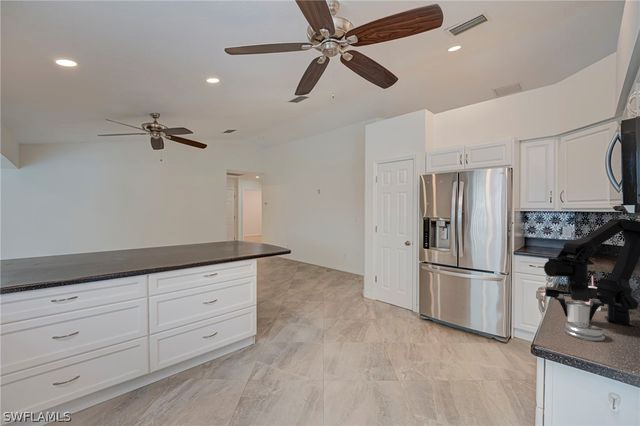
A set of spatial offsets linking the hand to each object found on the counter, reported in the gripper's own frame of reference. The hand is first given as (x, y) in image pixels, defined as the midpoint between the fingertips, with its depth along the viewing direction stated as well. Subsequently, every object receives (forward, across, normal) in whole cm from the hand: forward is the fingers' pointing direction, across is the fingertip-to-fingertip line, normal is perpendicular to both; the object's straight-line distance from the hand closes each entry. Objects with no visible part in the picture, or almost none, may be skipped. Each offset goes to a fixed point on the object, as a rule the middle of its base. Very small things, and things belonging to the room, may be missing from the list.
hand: (578, 318), depth 104 cm
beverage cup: (+2, +7, +23) cm, 24 cm away
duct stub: (+2, 0, -13) cm, 13 cm away
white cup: (+2, 0, 0) cm, 2 cm away
